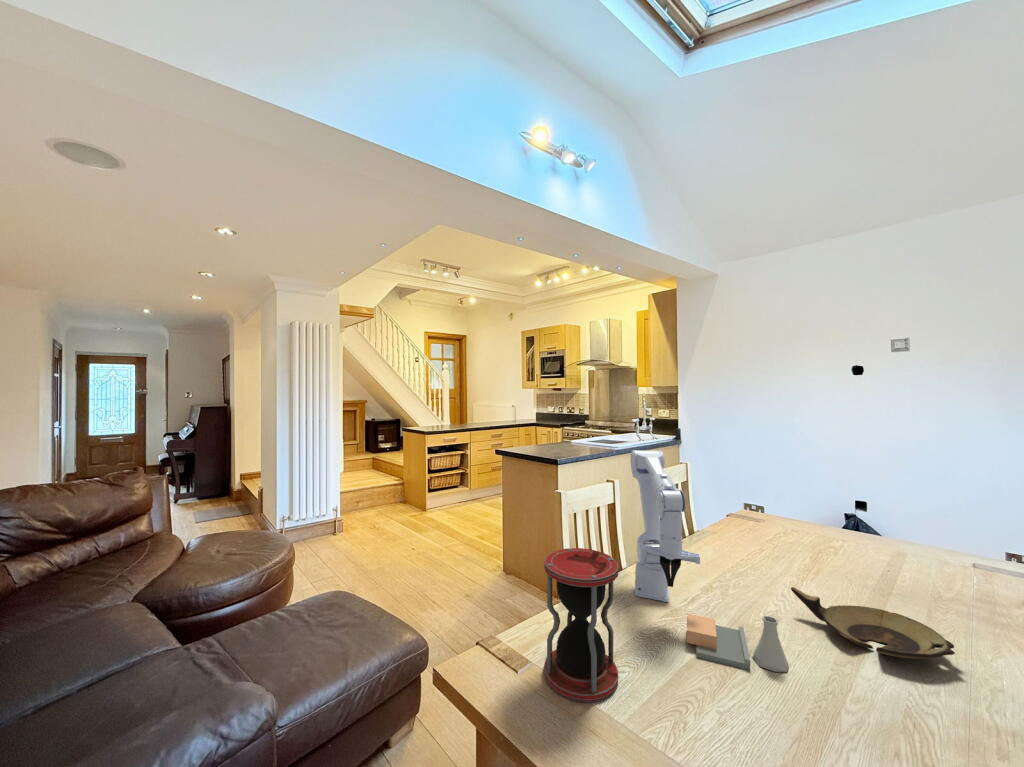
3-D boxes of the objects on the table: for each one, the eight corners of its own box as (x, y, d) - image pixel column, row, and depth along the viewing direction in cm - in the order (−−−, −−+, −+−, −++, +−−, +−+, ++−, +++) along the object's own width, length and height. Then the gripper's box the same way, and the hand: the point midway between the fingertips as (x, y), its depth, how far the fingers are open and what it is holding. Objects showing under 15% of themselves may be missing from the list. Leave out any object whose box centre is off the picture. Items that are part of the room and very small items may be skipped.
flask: (783, 656, 97) (783, 613, 97) (793, 676, 90) (793, 631, 90) (749, 649, 100) (749, 608, 100) (756, 669, 93) (756, 624, 93)
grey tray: (696, 657, 97) (696, 647, 97) (696, 625, 109) (696, 617, 109) (750, 670, 92) (750, 660, 92) (743, 635, 105) (743, 627, 105)
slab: (686, 630, 100) (716, 636, 98) (687, 613, 108) (714, 619, 105) (686, 642, 100) (716, 649, 98) (687, 625, 108) (714, 631, 105)
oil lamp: (920, 692, 86) (920, 655, 86) (780, 617, 114) (780, 589, 114) (974, 665, 94) (974, 631, 94) (831, 601, 122) (831, 575, 122)
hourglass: (632, 696, 84) (632, 574, 84) (557, 709, 81) (557, 582, 81) (599, 647, 100) (599, 544, 100) (535, 656, 97) (535, 550, 97)
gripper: (640, 535, 111) (640, 586, 110) (700, 544, 105) (700, 597, 105) (643, 527, 117) (643, 575, 117) (699, 535, 111) (699, 585, 111)
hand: (670, 585), depth 111 cm, fingers closed
